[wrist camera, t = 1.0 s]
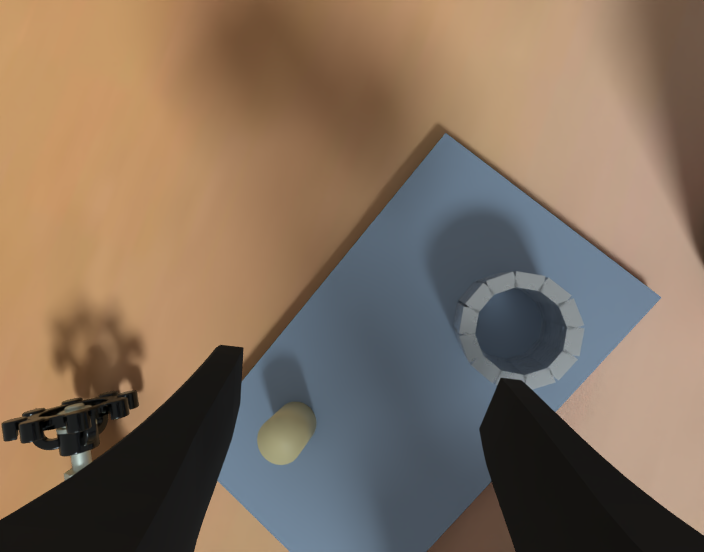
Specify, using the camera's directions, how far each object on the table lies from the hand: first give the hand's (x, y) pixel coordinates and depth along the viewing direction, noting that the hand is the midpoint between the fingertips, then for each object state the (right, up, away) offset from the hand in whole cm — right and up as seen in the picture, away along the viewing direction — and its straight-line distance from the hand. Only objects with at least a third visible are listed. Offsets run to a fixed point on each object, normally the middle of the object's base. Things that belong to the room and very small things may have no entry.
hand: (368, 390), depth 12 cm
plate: (+3, -3, +13) cm, 14 cm away
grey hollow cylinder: (+8, +1, +11) cm, 14 cm away
